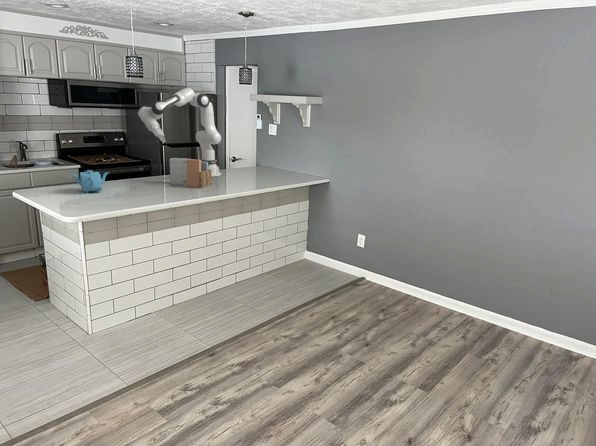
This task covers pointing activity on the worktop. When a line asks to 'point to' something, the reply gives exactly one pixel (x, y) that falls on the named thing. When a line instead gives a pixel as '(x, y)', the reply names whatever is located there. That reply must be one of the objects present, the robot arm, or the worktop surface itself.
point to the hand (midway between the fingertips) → (164, 141)
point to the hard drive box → (178, 171)
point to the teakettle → (90, 181)
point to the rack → (205, 178)
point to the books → (195, 171)
